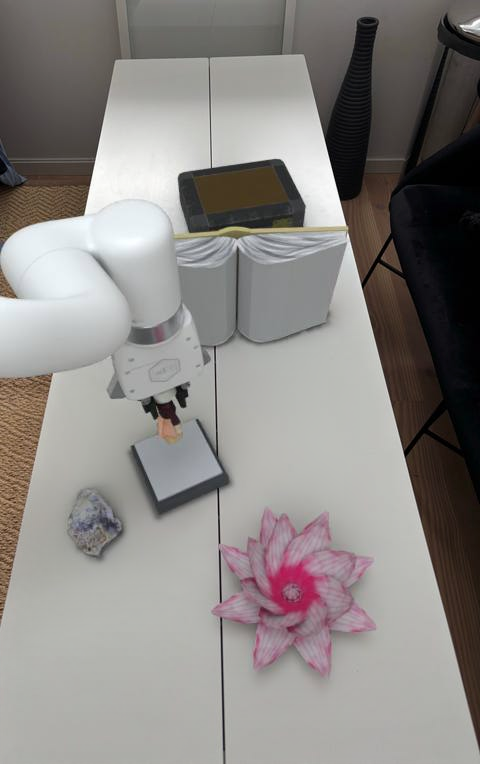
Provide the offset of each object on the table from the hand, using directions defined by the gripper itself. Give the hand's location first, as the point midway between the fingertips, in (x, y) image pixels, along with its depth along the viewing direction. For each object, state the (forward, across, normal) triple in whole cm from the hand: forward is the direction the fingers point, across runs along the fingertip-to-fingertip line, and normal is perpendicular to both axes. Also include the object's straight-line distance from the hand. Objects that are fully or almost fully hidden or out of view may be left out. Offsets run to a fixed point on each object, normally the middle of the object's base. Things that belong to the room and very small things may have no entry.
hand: (166, 404), depth 73 cm
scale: (+20, 0, 0) cm, 20 cm away
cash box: (+20, +37, +53) cm, 68 cm away
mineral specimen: (+20, -15, -3) cm, 25 cm away
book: (+20, +22, +23) cm, 37 cm away
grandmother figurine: (+8, 0, 0) cm, 8 cm away
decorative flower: (+20, +6, -26) cm, 33 cm away
